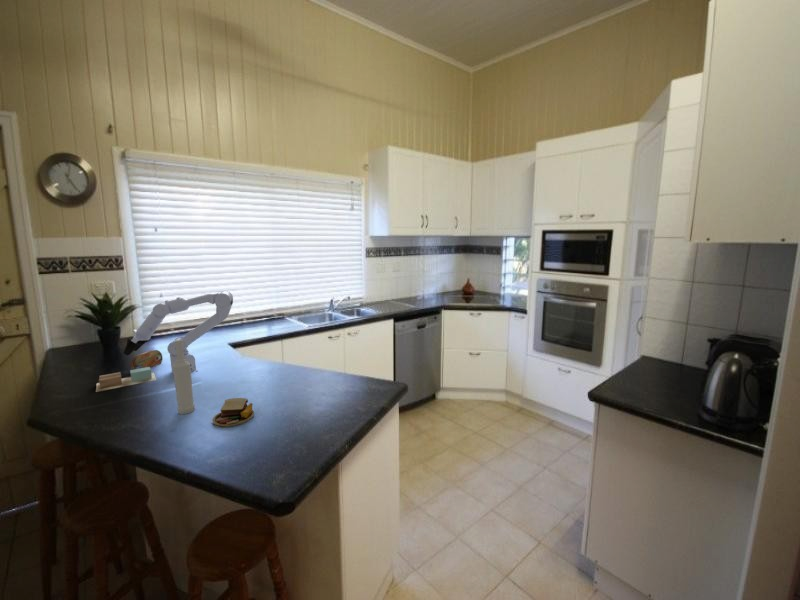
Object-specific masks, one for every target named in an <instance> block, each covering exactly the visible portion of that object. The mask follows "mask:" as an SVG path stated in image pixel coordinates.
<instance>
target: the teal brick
mask: <svg viewBox="0 0 800 600" xmlns="http://www.w3.org/2000/svg"><path fill="white" fill-rule="evenodd" d="M129 373H130V377H131V380H132V382H137V381H142V380H147V379H152V375H151V373H152V369H151V368H150V367H146V368H140V369H134V370H132V369H130V370H129Z"/></svg>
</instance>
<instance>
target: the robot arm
mask: <svg viewBox="0 0 800 600" xmlns="http://www.w3.org/2000/svg"><path fill="white" fill-rule="evenodd" d="M206 303H209V304H212V305H215V307H216V308H215V309H216V310H215V313H214V314H213V315H211V316H210V317H208V318H207V319H206V320H203V322H202V323H200V324H199V325H197V326H196V327H194V328H193V329H191V330H190V331H189V332H187V333H185V334H184V336H179V337H176V338H175V339H174V340H173V341H172V342H169V344H168V345H167V348H166V349H167V352H168V354H169V358H170V359H169V360H170V366H171V373H172V374H173V367H172V366H173V365H174V364H175V363H176V361H177V352H176V345H175V341H176V340H182V344H183V354H184V359H185V361H187V362H189V363H190V369H191V373H192V372H194V371H195V372H198V371H199V370H198V369H197V368H196V367H197V366H196V358H195V356H194V355H193V354H191V353H190V352H189V350H188V347H189V346H190V345H191V344H192V343H194V342H195V341H197V340H198V339H199V338H201V337H202V336H204V335H205V334H206V333H208V332H210V330H211V331H212V329H213V328H215V327H216V326H218V325H219V324H221V323H222V322H224V321H225V320H226V319H227V318H228V317H229V315H230V311H231V309H232V307H233V303H234V296H233V294H232V293H231V292H230V291H228V290H227V291H226V290H224V291H223V290H222V291H216V292H210V293H206V294H203V295H200V296H195V297H192V298H188V299H187V298H185V297H181V296H178V297H176V299H171V300H165V301H164V302H163V301H162V302H160V303H157V304H156V305H154V306H153V307H152V311H151V312H150V314H149V315H148V316H146V318H145V319H144V320H143V322H142V323H141V325H140V326H139V327H138V328H137V329H136V328H135V329H133V330H132V332H133V333H134V334H133V337H132V336H130V337H128V338H127V340H126V346H125V348H124V350H123V354H124V355H125V356H128V357H129V355H131V354H132V353H134V352H136V351H138V350H139V349H140V348H141V347H143V346H144V344H146V343H147V342H150V341H151V337H152V335H153V334H154V333H155V332H156V330H157V329H158V328H159V326H160V325H161V324H162V322H163V320H164V319H165V318H166V317H167V316H168V315H170V314H171V315H174V314H177V313H181V312H183V311H184V312H185V311H188V309H189V308H190V307H193V306H197V305H202V304H206Z"/></svg>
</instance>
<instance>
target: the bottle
mask: <svg viewBox="0 0 800 600" xmlns="http://www.w3.org/2000/svg"><path fill="white" fill-rule="evenodd" d="M175 345H176V352H177V361H176V363H175V364H174V365H173V366H172V367H173V373H172V374H173V379H174V386H175V394H176V401H177V409H176V410H177V412H178V414H179V415H187V414H190V413H193V412H194V411H195V409H196V407H195V403H194V396H193V394H194V392H193V385H192V383H193V382H192V372H191V369H190V363H189V362H187V361H185V359H184V354H183V344H182V340H176V341H175Z"/></svg>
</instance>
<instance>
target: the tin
mask: <svg viewBox="0 0 800 600" xmlns="http://www.w3.org/2000/svg"><path fill="white" fill-rule="evenodd" d="M162 363H163V354H162V352H161V351H160V350H158V349H153V350H148V351H146V352H142V353H140V354H137V355H134V357H133V358H132V359H131V361H130V366H131V370H134V369H140V368H146V367H150V369H151V368H153V367H156V366H158V365H161V364H162Z"/></svg>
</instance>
